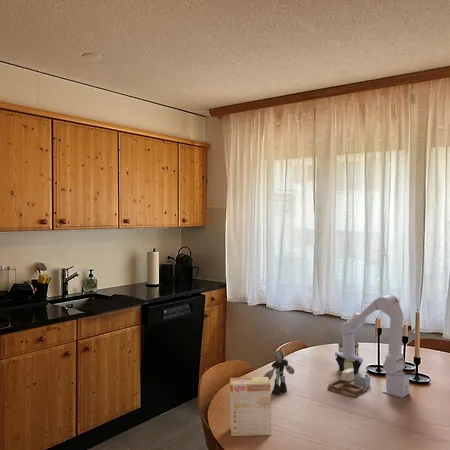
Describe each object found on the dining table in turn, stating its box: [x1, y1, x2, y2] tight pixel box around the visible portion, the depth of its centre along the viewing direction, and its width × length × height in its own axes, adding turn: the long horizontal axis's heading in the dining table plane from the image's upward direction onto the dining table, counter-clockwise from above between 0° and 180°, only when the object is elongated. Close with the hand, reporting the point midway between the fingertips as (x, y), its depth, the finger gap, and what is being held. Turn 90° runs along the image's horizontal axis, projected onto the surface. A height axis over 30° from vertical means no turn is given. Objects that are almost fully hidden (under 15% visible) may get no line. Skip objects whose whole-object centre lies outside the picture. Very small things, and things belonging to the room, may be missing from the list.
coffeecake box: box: [229, 376, 272, 437], centre depth 168 cm, size 15×7×20 cm, turn 92°
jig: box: [327, 378, 368, 399], centre depth 207 cm, size 14×11×2 cm
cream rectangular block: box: [341, 368, 354, 383], centre depth 221 cm, size 3×8×5 cm, turn 134°
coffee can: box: [337, 340, 360, 372], centre depth 235 cm, size 10×10×14 cm
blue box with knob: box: [353, 372, 371, 389], centre depth 213 cm, size 6×4×6 cm, turn 43°
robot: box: [263, 347, 295, 396], centre depth 206 cm, size 20×5×20 cm, turn 128°
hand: (348, 373), depth 221 cm, fingers open, 7 cm apart
